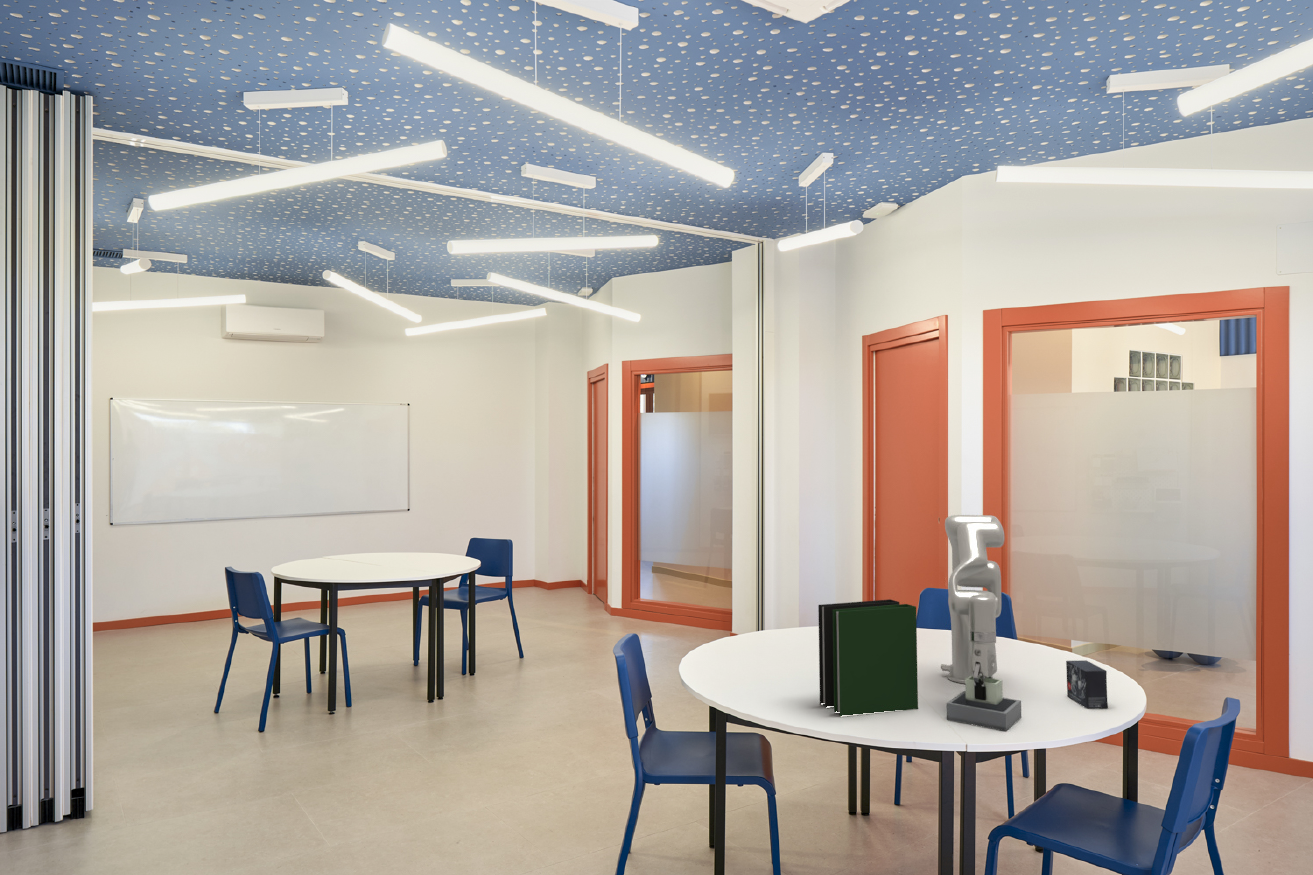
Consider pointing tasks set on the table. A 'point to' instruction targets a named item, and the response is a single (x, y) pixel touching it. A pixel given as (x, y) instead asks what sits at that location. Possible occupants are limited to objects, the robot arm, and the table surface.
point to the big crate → (984, 712)
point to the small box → (1087, 684)
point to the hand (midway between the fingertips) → (983, 696)
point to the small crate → (992, 690)
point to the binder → (868, 656)
